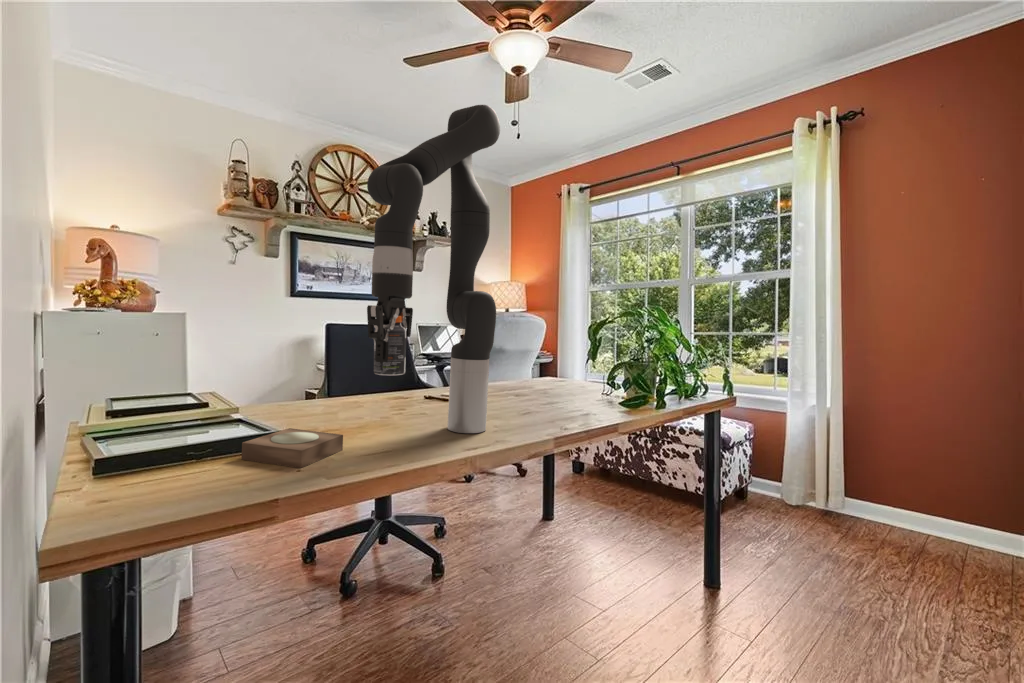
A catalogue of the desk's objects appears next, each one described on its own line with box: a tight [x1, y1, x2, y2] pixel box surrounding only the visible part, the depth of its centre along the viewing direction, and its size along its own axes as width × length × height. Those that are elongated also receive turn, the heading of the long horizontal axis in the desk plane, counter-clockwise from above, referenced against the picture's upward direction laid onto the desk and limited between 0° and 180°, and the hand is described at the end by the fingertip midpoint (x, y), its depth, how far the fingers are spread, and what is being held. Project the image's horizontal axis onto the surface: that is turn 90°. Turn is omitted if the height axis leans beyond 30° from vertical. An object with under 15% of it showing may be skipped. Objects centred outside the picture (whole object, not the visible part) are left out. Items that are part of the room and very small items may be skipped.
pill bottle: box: [373, 316, 407, 376], centre depth 90 cm, size 6×6×11 cm
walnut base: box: [241, 428, 344, 469], centre depth 87 cm, size 12×12×3 cm
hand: (390, 360), depth 91 cm, fingers closed on pill bottle, 6 cm apart
